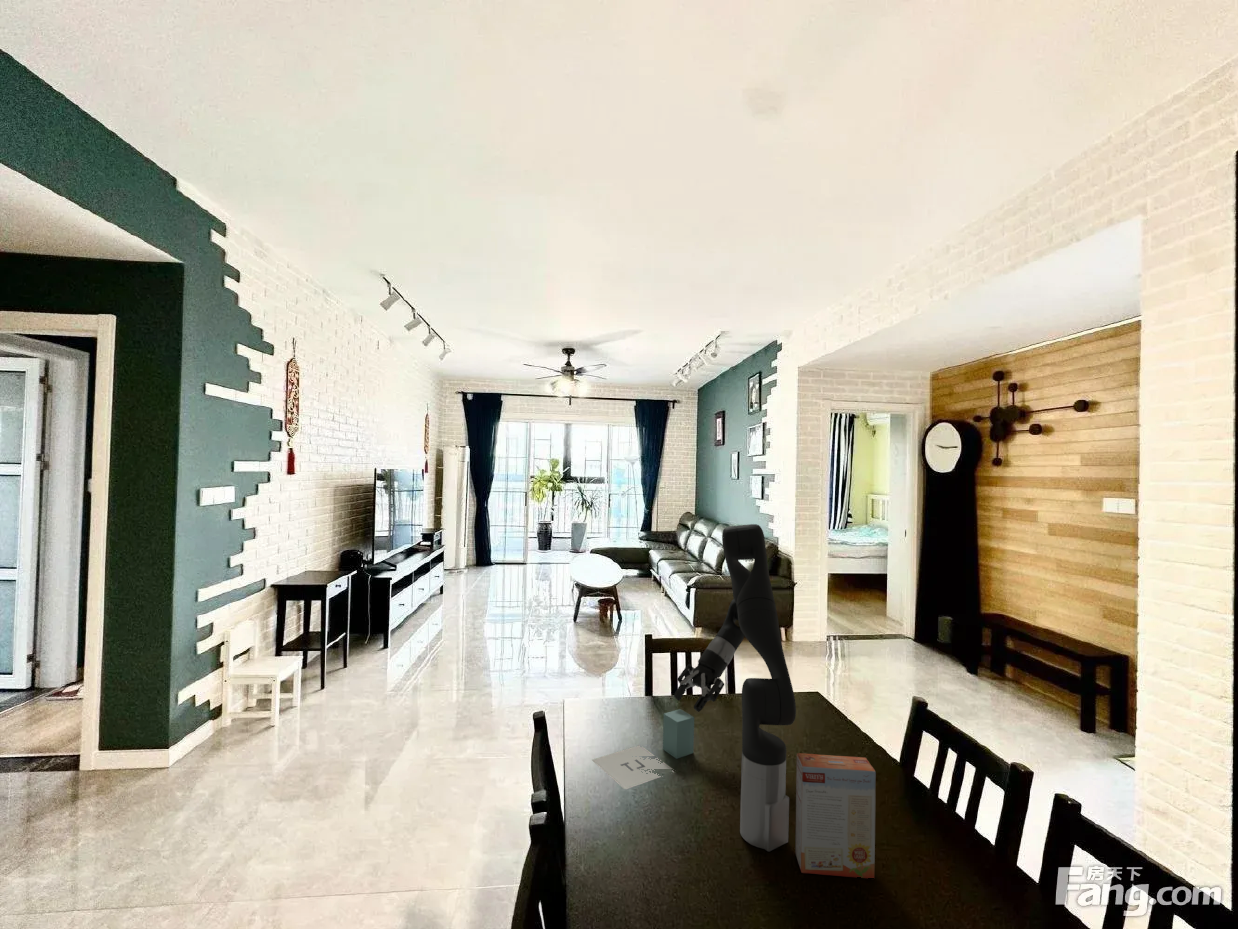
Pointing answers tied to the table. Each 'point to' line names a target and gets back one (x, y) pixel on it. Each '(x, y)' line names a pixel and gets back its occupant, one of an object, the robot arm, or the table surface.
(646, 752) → the card
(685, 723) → the teal block
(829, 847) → the cracker box
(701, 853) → the table surface
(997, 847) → the table surface
